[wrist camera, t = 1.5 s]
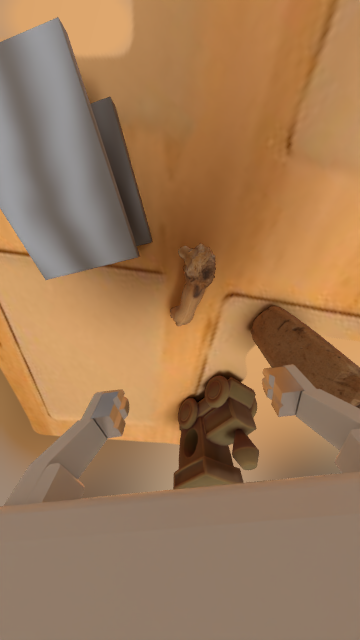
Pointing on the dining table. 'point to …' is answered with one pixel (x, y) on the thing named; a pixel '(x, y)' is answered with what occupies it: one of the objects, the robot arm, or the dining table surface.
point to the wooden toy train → (216, 435)
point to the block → (306, 354)
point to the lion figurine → (194, 281)
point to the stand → (63, 160)
